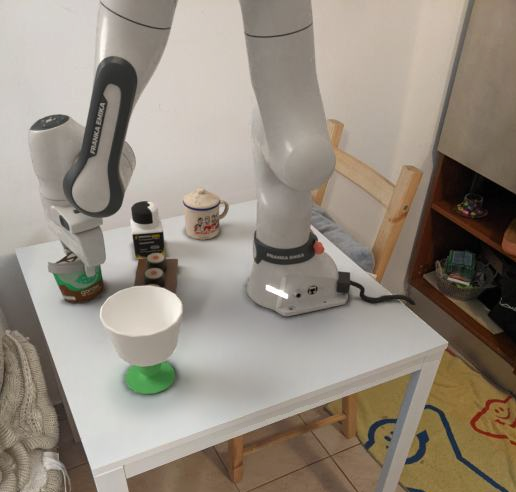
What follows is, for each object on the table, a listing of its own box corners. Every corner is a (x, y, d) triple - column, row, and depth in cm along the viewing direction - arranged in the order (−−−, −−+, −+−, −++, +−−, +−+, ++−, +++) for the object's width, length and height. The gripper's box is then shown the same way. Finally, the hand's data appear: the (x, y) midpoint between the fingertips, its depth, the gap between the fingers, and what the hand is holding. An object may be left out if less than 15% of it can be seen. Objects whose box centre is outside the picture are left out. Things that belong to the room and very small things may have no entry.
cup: (196, 394, 99) (192, 326, 89) (118, 412, 95) (105, 343, 85) (178, 345, 109) (173, 279, 98) (107, 359, 105) (94, 292, 94)
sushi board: (178, 265, 129) (177, 247, 126) (174, 319, 115) (172, 300, 111) (139, 266, 129) (137, 247, 125) (130, 320, 114) (127, 301, 111)
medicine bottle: (135, 259, 131) (129, 214, 123) (133, 243, 136) (127, 199, 128) (165, 256, 132) (161, 211, 124) (162, 241, 137) (158, 196, 129)
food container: (79, 312, 114) (65, 270, 108) (59, 304, 117) (45, 263, 111) (121, 284, 122) (111, 243, 116) (102, 277, 125) (91, 237, 119)
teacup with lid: (194, 244, 137) (192, 200, 129) (178, 227, 142) (176, 185, 135) (236, 232, 142) (237, 190, 134) (220, 217, 147) (219, 175, 140)
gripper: (29, 187, 110) (44, 247, 120) (74, 230, 99) (87, 292, 108) (59, 179, 114) (72, 238, 123) (106, 220, 102) (116, 281, 111)
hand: (79, 264), depth 115 cm, fingers open, 8 cm apart
